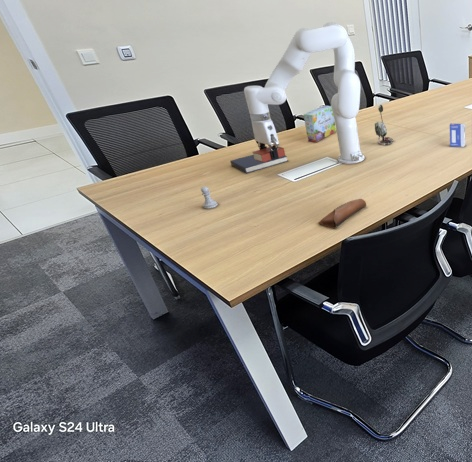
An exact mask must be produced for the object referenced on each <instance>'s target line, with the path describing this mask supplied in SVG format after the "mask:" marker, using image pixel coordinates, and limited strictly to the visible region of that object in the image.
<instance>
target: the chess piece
mask: <svg viewBox="0 0 472 462" xmlns="http://www.w3.org/2000/svg"><path fill="white" fill-rule="evenodd" d="M200 192H201V195H202V196H203V197H204V203H203V204H202V206H203V209H205V210H208V209H209V210H211V209H214V208H216V207H218V206H219V205H218V203H217V201H216V200H214V199H213V198H212V196H211V191H210V189H209V187H208V186H202V187H201V188H200Z"/></svg>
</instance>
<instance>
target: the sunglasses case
mask: <svg viewBox="0 0 472 462" xmlns="http://www.w3.org/2000/svg"><path fill="white" fill-rule="evenodd" d="M366 207H367V202H366V200H365V199H363V198H357V199H352V200H350V201H348V202H345V203H343V204H340V205H339V206H337V207H335V208H334V209H333V211H331V212H329V213H328V214H327V215H325V216H324V217H322V218H321V219H320V220H319V221H318V224H319V225H322V226H323V227H326V228H330V229H336V228H337V227H339V226H340V225H341V224H342V223H344V222H345V221H346V220H347V219H349V218H350V217H352V216H353V215H354V214H356V213H358V212H359V211H360V210H362V209H363V208H366Z"/></svg>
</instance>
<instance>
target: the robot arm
mask: <svg viewBox="0 0 472 462" xmlns="http://www.w3.org/2000/svg"><path fill="white" fill-rule="evenodd" d="M329 50H333V53H334V57H333V58H334V59H333V60H334V62H333V63H334V66H333V83H334V85H335V86H336V88H337V92H336V93H335V94H334V95H333V96H332V97H331V99H330V106H331V107H332V111H333V115H334V120H335V127H336V137H337V143H338V149H339V153H340V154H339V156H338V157H337V161H338V162H339V163H340V164H345V165H346V164H347V165H352V164H357V163H361V162H363V161H364V160H365V159H366V157H365V155H364V154H363V153H362V151H361V145H360V138H359V132H358V131H359V130H358V124H357V119H356V117H357V116H358V114H359V111H360V105H361V104H360V103H361V90H362V89H361V80H360V77H359V76H358V74H357V73H355V71H356V70H355V68H356V56H355V53H356V52H355V47H354V45H353V42H352V40H351V38H350V36H349V35H348V32H347V30H346V29H345V27H343V25H341V24H338V23H336V22H331V21H330V22H326V23H325V24H323V26H321V27H315V28H305V27H301V28H299V29H298V30H296V32H295V33H294V35H293V37H292V38H291V40H290V42H289V44H288V45H287V48H286V50H285V51H284V53H283V55H282V57H281V58H280V60H279V61H278V62H277V64H276V66H275V67H274V69H273V71H272V72H271V74H270V76H269V77H268V79H267V81H266V83H265V85H264V87H263V86H262V85H247V86H245V87H244V88H243V92H244V93H243V94H244V97H245V101H246V105H247V109H248V113H249V117H250V120H251V126H252V133H253V140H254V141H255V143H256V145H257V147H258V150H261V149H264V148H268V147H269V148H270V150H271V151H270V154H271V159H272V160H274V159H278V158H279V156H278V152H277V150H278V146H279V147H280V142H279V136H278V134H277V130H276V127H275V125H274V122H273V120H272V118H271V114H270V109H269V105H274V106H276V105H277V106H278V105H279V106H280V105H282V104H284V103H286V101H287V92H286V89H287V87H288V85H290V83H291V81H292V80H293V78H294V77H296V76H297V75H299V74H300V73H301V72H302V71H303V69H304V68H305V66H306V64H307V62H308V60H309V59H310V57H311V55H312V54H314V53H320V52H325V51H329ZM272 146H273V147H272Z"/></svg>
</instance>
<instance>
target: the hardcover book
mask: <svg viewBox="0 0 472 462" xmlns="http://www.w3.org/2000/svg"><path fill="white" fill-rule="evenodd" d="M287 157H288V156H287V155H285V156H283V157H280V158H278V159H274V160H270V161H267V162H264V163H263V162H260V161H257V160H254V155H253V154H251V155H247V156H243V157H239V158H236V159H235V158H234V159H232V160H230V164H231V167H233V168H235V169H237V170H239V171H240V172H242V173H245V174H249V173H253V172H256V171H260V170H263V169H267V168H269V167H272V166H277V165H281V164H283V163H287V162H289V160H288V158H287Z"/></svg>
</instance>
